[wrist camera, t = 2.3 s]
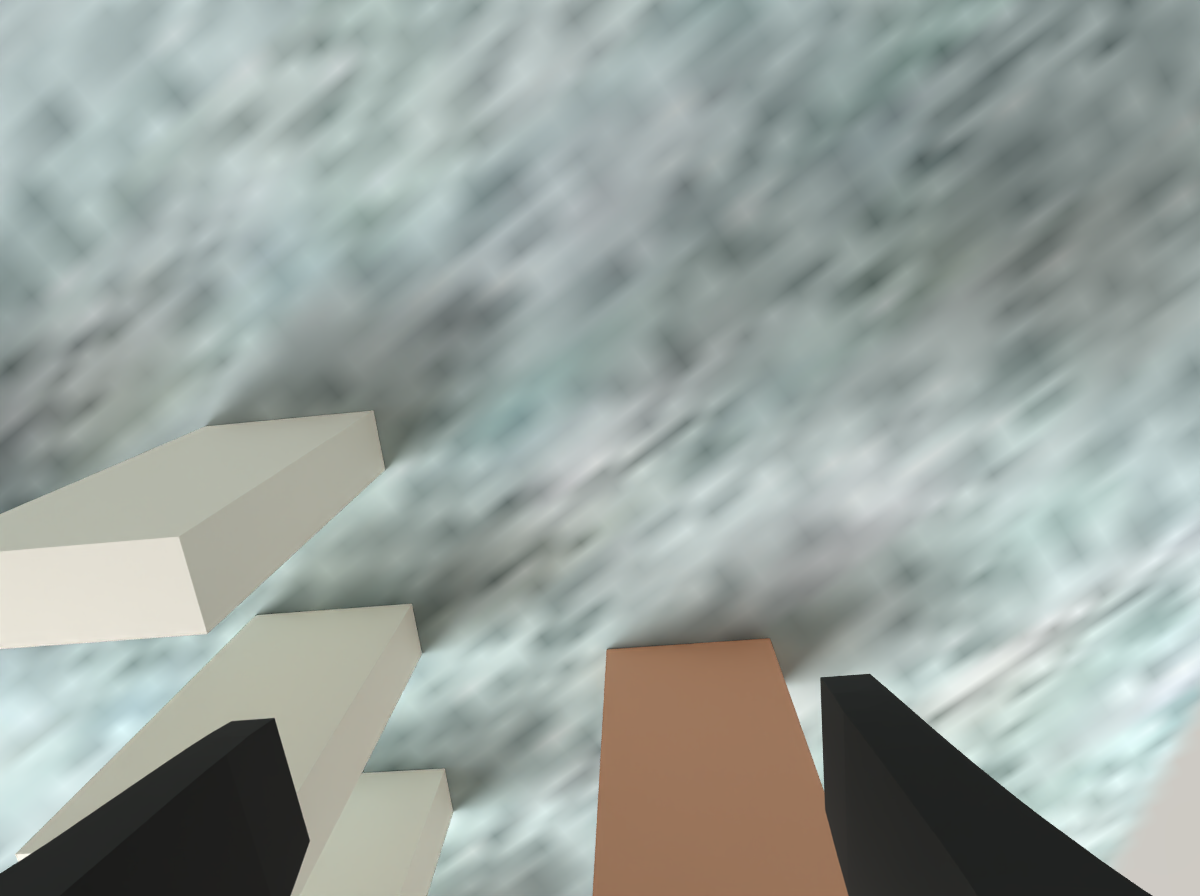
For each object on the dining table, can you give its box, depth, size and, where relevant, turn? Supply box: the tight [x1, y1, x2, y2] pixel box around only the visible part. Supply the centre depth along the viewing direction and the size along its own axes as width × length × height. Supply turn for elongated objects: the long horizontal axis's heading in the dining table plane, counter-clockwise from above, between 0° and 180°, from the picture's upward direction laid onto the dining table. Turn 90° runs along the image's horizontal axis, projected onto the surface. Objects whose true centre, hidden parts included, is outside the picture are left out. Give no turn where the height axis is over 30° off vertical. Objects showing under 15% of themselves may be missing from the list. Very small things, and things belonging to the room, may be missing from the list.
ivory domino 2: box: [15, 604, 422, 896], centre depth 16 cm, size 2×4×8 cm, turn 96°
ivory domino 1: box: [0, 410, 385, 649], centre depth 14 cm, size 2×4×8 cm, turn 96°
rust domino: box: [593, 638, 848, 896], centre depth 16 cm, size 2×4×8 cm, turn 96°
